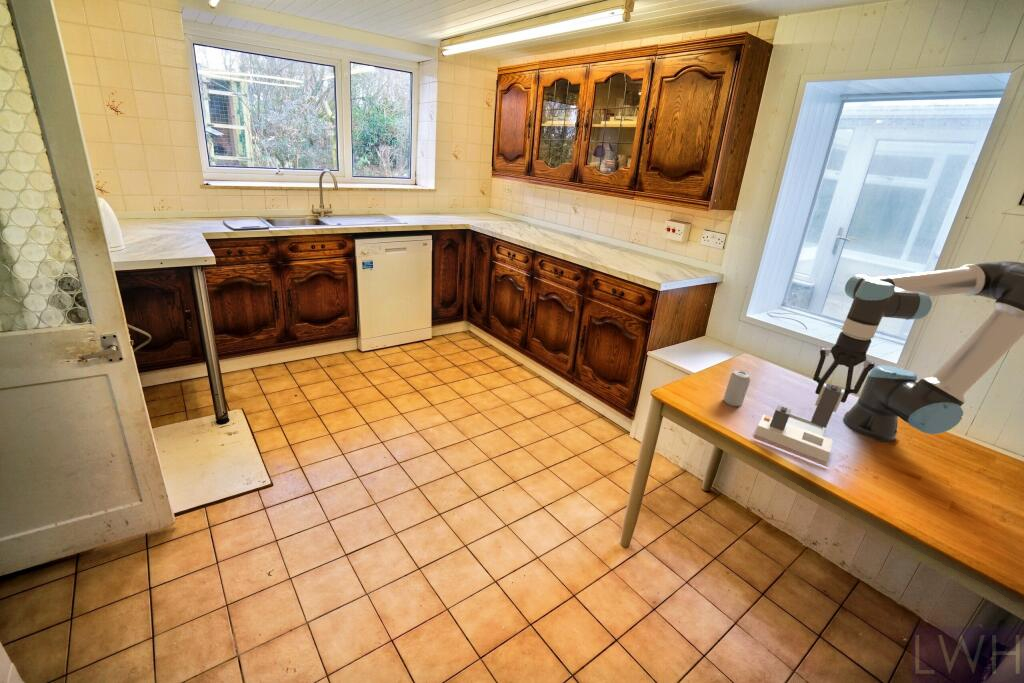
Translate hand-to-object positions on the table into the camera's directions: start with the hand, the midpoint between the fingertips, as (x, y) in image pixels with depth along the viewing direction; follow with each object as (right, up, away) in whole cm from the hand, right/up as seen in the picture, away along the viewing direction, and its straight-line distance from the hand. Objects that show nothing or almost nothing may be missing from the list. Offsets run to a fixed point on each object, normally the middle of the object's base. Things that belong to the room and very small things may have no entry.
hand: (825, 406), depth 142 cm
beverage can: (-14, -3, +30) cm, 33 cm away
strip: (-5, -13, +9) cm, 16 cm away
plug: (-1, -5, +2) cm, 6 cm away
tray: (+4, -10, +18) cm, 21 cm away
